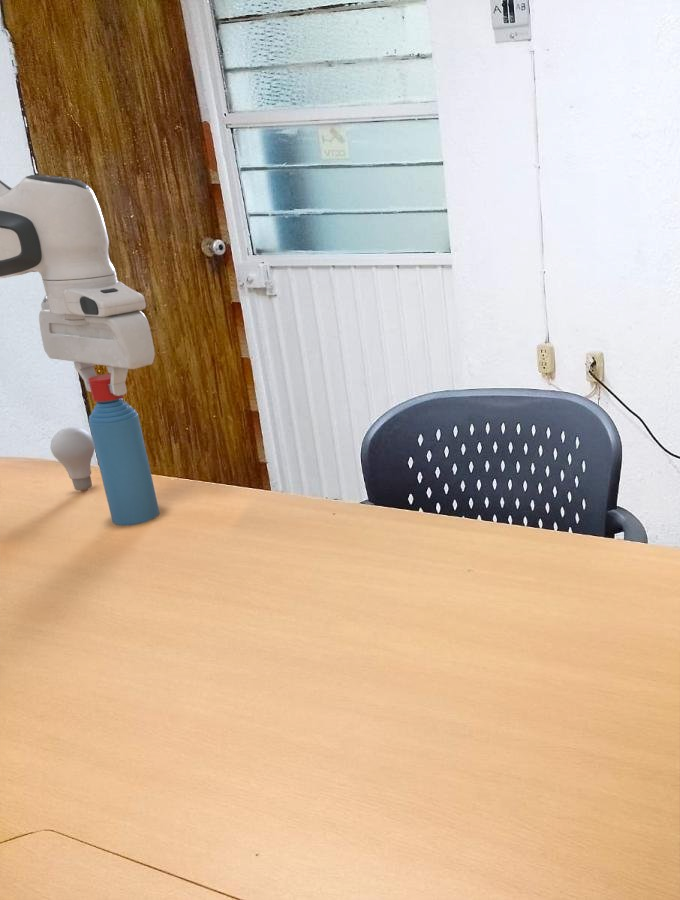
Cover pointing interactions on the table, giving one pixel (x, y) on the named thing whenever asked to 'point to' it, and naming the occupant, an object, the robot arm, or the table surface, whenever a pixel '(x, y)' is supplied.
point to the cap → (101, 388)
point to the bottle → (123, 462)
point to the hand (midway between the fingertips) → (107, 392)
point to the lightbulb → (75, 455)
